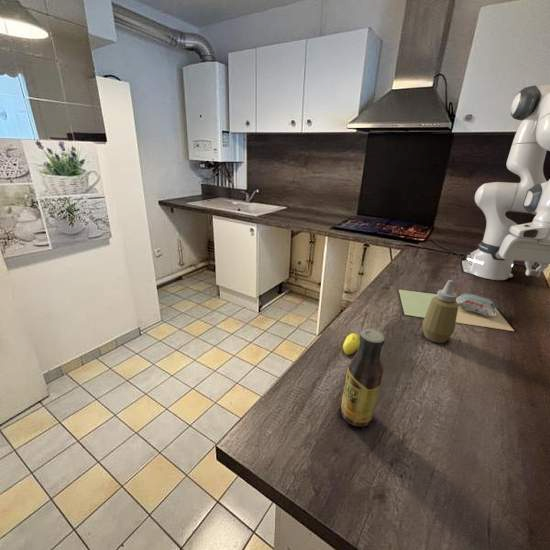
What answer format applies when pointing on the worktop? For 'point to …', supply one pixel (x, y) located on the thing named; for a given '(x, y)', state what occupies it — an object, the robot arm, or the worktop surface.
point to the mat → (420, 302)
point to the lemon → (351, 343)
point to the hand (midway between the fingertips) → (531, 275)
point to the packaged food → (477, 304)
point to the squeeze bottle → (441, 315)
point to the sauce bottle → (363, 380)
